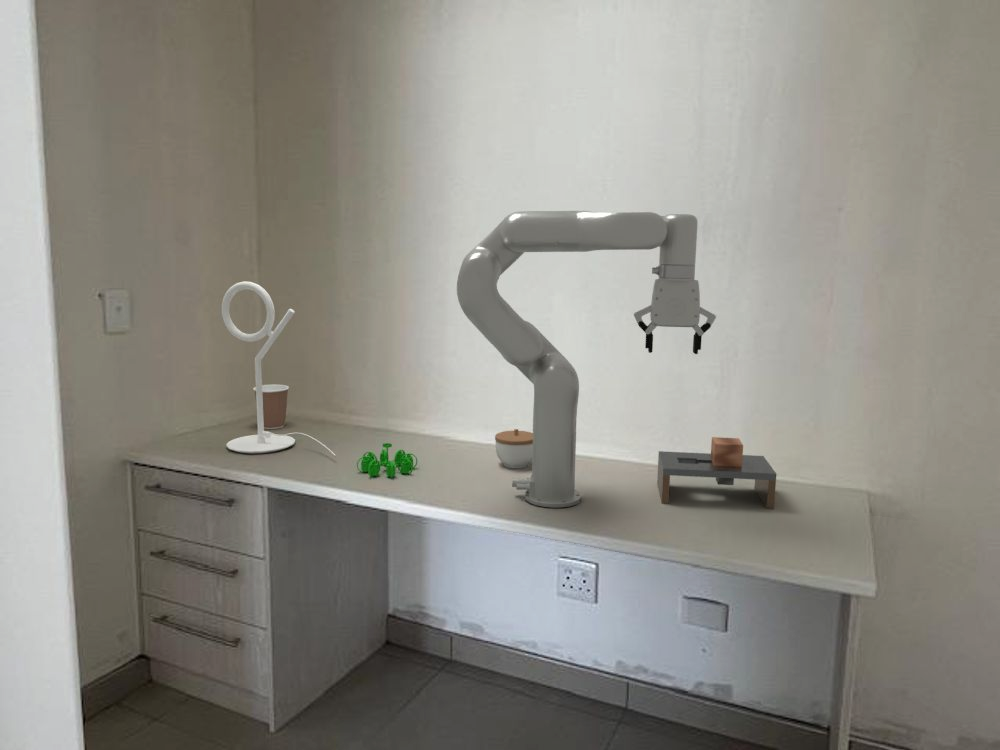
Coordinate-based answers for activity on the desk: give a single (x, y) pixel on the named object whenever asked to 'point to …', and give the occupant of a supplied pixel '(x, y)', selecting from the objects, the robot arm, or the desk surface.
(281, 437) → the desk lamp
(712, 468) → the keyhole stand
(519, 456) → the lidded jar
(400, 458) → the chandelier
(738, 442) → the headed peg
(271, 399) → the coffee cup
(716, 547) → the desk surface
